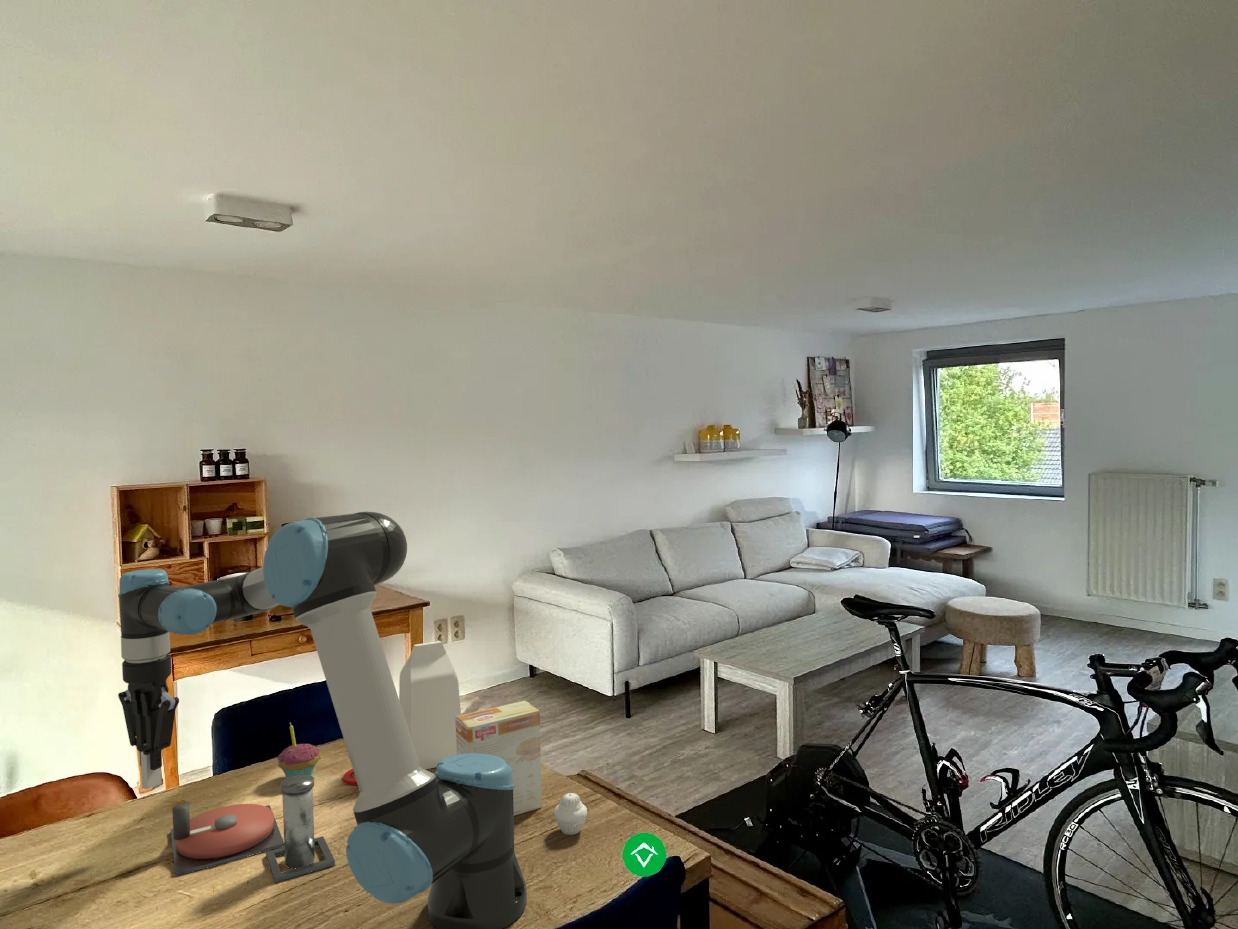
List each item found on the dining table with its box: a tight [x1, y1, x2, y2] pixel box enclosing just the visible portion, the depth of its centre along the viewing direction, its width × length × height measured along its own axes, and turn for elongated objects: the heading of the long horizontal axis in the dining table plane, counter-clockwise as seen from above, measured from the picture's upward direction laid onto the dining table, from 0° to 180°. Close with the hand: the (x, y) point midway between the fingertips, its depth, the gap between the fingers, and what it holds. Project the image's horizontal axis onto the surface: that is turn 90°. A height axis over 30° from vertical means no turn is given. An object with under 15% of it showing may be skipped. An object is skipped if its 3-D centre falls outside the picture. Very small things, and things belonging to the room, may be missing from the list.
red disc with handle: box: [171, 803, 275, 859], centre depth 144 cm, size 16×16×7 cm
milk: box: [398, 640, 462, 770], centre depth 178 cm, size 12×12×26 cm
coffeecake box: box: [456, 700, 543, 817], centre depth 153 cm, size 15×7×20 cm, turn 122°
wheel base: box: [170, 804, 284, 877], centre depth 144 cm, size 17×17×1 cm
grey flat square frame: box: [265, 836, 336, 884], centre depth 137 cm, size 10×10×1 cm
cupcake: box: [276, 722, 322, 779], centre depth 168 cm, size 9×8×12 cm
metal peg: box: [279, 775, 316, 869], centre depth 136 cm, size 5×5×14 cm
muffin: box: [554, 792, 588, 836], centre depth 145 cm, size 6×6×7 cm
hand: (151, 785), depth 143 cm, fingers closed
